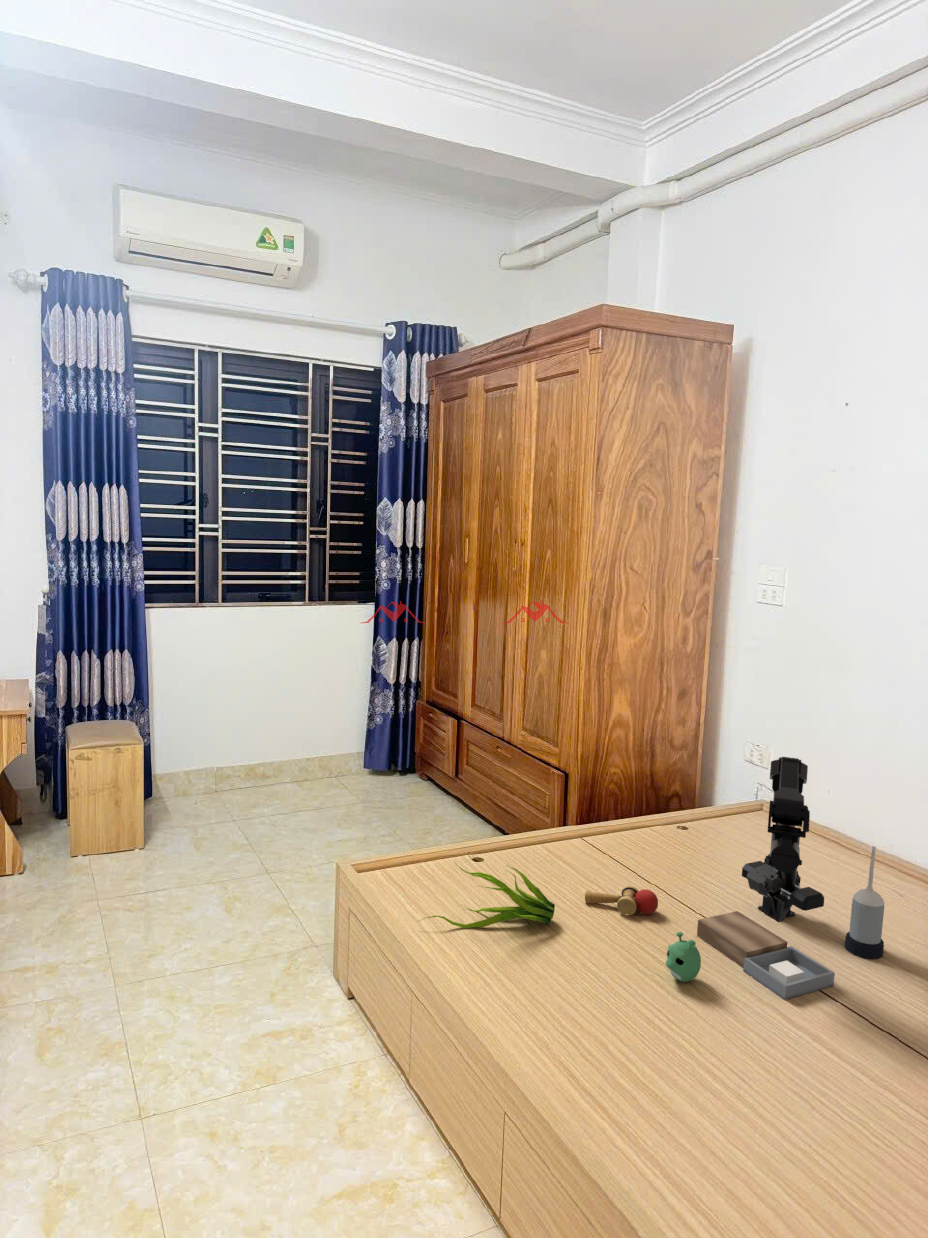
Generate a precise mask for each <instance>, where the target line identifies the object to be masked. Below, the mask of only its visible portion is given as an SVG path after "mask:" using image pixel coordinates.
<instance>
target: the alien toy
mask: <svg viewBox="0 0 928 1238" xmlns="http://www.w3.org/2000/svg"><path fill="white" fill-rule="evenodd" d="M675 936H676V937H678V940H676V941H675V942H673V944H668V948H667V949H668V950H667V951H666V956H667V957H666V961H665V966H666V967H667V968H668V969H669V971H670V974H671V976H672V977H673V978H674V979H675V980H677V981H680V982H683V983H684V982H685V983H687V982H691V981H693V980H695V978H696V977H697V976H698V974H699V973H700V970H701V967H702V960H701V958H702V957H701V954H700V951H699V949H698V947H697V946H696V942H695V940H693V939H689V940H684V939H682V937H684V932H682V931H677V932H676V934H675Z"/></svg>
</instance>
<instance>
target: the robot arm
mask: <svg viewBox="0 0 928 1238" xmlns="http://www.w3.org/2000/svg"><path fill="white" fill-rule="evenodd" d="M808 768H809V765H807V764H806V763H804V762H802V759H799V758H797V757H789V756H788V757H787V756H781V757H778V759H775V760H771V761H770V769H769V771H770V773H769V780H772V782H771V788H772V791H773V798H772V799H773V800H769V809H768V818H767V819H768V821H767V833H769V834H771V840H770V852H769V853H768V855H765V857H764V860H763V861H762V860H758V861H752V862H747V863H744V865H743V866H742V868H741V877H743V878H745V879H747V883H748V887H749V889H750V890H753V891H755V892H757V893H758V894H759V895H761V896H762V905H758V908H757V909H758V910H760V911H762V912H763V913H765V914H767V915H768V916H770V917H771V918H773V919H774V921H775V922H777V923H782V922H783V920H784V919H785V918H788V917H793V916H796V912H795V911H793V910H791V908H792V907H796V908H797V909H799V910H801V911H810V910H815V909H818V908H822V907H824V906H825V895H823V893H822V892H820V891H818V890H816V889H814V888H812V887H810V886H807V887H806V886H805V887H800V885H801V880H802V879H801V876H800V875H799V870H798V868H799V866H802V865H803V864H802V863H803V860H802V859H801V855H800V849H801V848H800V840H801V839H800V838H804V839H807V838H806V836H807V834H806V833H809V832H810V817H811V816H810V815H811V811H810V810H809V806H808V805H806V804H805V795H803V791H804V790H803V789H804V784H805V785H806V784H807V782H808V770H809V769H808ZM771 823H773V824H771ZM771 825H772V826H771ZM801 827H802V828H801Z"/></svg>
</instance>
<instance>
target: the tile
mask: <svg viewBox="0 0 928 1238" xmlns="http://www.w3.org/2000/svg"><path fill="white" fill-rule="evenodd" d="M769 973H771V974H772V975H773V976H775V977H776V978H778V979H779V980H781V981H782V982H784V983H785V984H787V983H790V982H794V981H797V980H801V979H804V971H802V970H801V969H799V968H798V967H796V966H795V965H793V964H792V963H790V962H788V961H783V962H779V963H775V964H771V965H769Z"/></svg>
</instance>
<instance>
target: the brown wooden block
mask: <svg viewBox="0 0 928 1238" xmlns="http://www.w3.org/2000/svg"><path fill="white" fill-rule="evenodd" d="M696 936H697V937H698V938H699V939H701V940H703V941H704V942H705V943H706V944H708V945H709V944H710V945H709V946H711V947H713V949H715V950H716V951H718V952H719V953H721V954H723V955H724V956H725V957H727V958H729V959H730V960H731V961H733V962H734V963H735V964H737V965H738V966H739V967H741V968H743V967H744V958H747V957H751V956H755V955H759V954H763V953H767V952H771V951H775V950H779V949H783V948H787V947H788V941H787V940H785V939H784V938H782V937H780V936H778V934H776V933H773V932H772V931H771V930H769V929H767V928H766V927H764V926H762V925H761V924H759V923H758V922H756V921H754V920H752V919H751V918H750V917H748V916H746V915H744V914H743V913H741V912H739V911H738V910H736V911H732V912H731V911H730V912H726V913H723V914H722V913H721V914H718V915H713V916H710V917H705V918H701V919H698V920H697V929H696Z"/></svg>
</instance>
